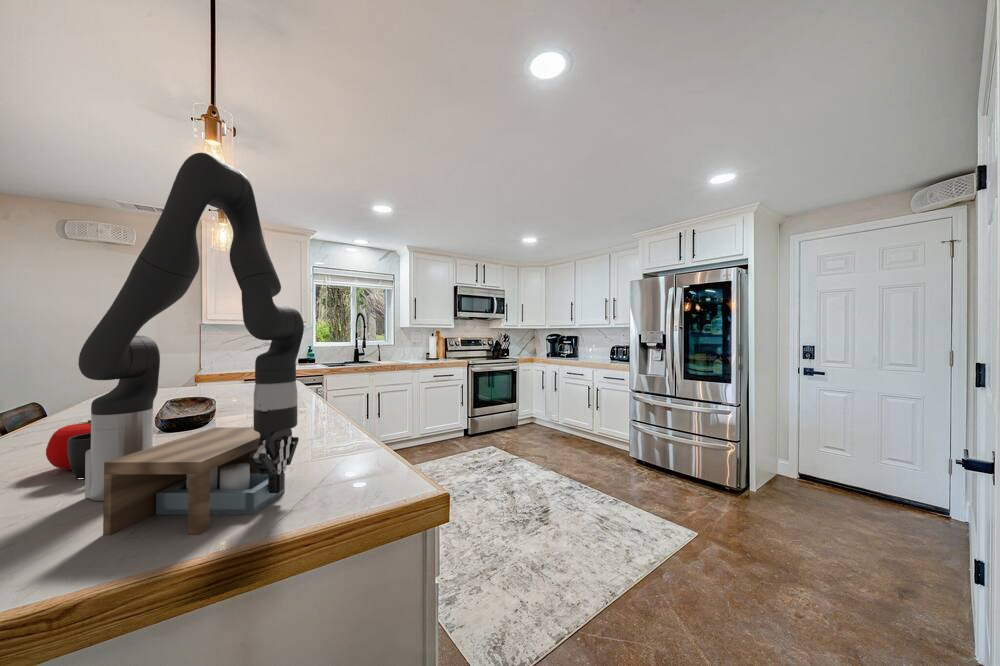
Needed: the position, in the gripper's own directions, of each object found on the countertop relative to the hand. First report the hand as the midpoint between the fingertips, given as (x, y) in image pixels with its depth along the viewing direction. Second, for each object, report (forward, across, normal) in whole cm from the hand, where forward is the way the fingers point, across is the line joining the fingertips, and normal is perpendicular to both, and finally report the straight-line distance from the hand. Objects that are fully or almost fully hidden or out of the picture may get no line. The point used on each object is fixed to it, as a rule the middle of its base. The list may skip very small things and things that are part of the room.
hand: (276, 491), depth 73 cm
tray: (+2, 0, -10) cm, 10 cm away
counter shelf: (+2, 0, -14) cm, 14 cm away
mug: (+2, -14, -50) cm, 52 cm away
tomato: (+2, -21, -60) cm, 64 cm away
